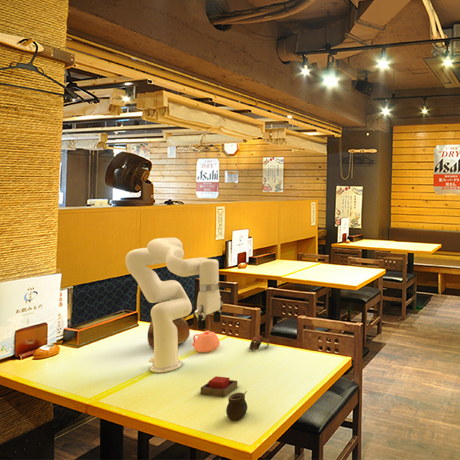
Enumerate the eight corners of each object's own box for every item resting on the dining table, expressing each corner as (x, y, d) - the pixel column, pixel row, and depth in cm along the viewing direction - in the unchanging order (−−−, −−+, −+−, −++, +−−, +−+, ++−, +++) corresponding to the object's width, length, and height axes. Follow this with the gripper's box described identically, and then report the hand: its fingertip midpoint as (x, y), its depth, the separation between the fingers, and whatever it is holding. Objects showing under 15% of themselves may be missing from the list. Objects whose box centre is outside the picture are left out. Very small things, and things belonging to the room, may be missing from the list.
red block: (208, 390, 151) (208, 381, 151) (215, 385, 156) (215, 376, 156) (222, 392, 150) (222, 382, 150) (229, 386, 155) (229, 377, 155)
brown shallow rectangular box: (200, 394, 150) (200, 387, 150) (214, 384, 158) (214, 378, 158) (224, 397, 148) (224, 390, 148) (237, 387, 156) (237, 380, 156)
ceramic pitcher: (165, 337, 213) (164, 287, 212) (197, 339, 211) (197, 288, 210) (138, 350, 194) (136, 294, 192) (173, 352, 192) (172, 296, 190)
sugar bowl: (212, 354, 190) (212, 335, 190) (185, 353, 191) (185, 334, 190) (224, 345, 203) (223, 327, 202) (199, 345, 203) (198, 327, 202)
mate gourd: (230, 411, 138) (230, 385, 137) (251, 411, 138) (251, 385, 137) (222, 422, 130) (222, 395, 130) (244, 422, 131) (244, 395, 130)
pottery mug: (249, 346, 203) (257, 332, 205) (265, 353, 204) (272, 339, 206) (245, 349, 191) (253, 334, 193) (261, 356, 192) (269, 341, 194)
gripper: (214, 283, 171) (215, 319, 172) (187, 291, 154) (187, 330, 155) (229, 283, 169) (229, 320, 170) (203, 292, 152) (203, 332, 153)
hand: (209, 325), depth 162 cm, fingers open, 9 cm apart
